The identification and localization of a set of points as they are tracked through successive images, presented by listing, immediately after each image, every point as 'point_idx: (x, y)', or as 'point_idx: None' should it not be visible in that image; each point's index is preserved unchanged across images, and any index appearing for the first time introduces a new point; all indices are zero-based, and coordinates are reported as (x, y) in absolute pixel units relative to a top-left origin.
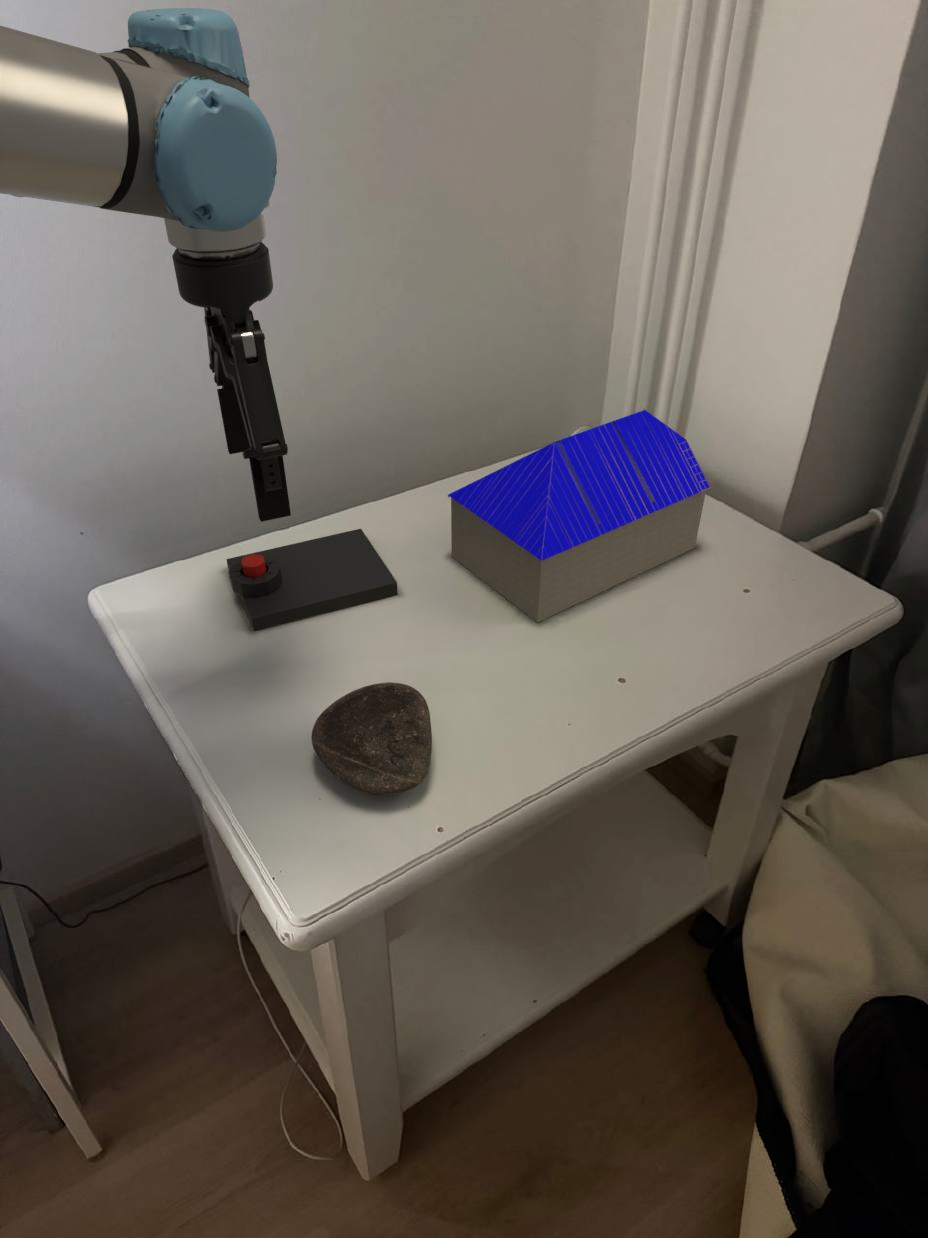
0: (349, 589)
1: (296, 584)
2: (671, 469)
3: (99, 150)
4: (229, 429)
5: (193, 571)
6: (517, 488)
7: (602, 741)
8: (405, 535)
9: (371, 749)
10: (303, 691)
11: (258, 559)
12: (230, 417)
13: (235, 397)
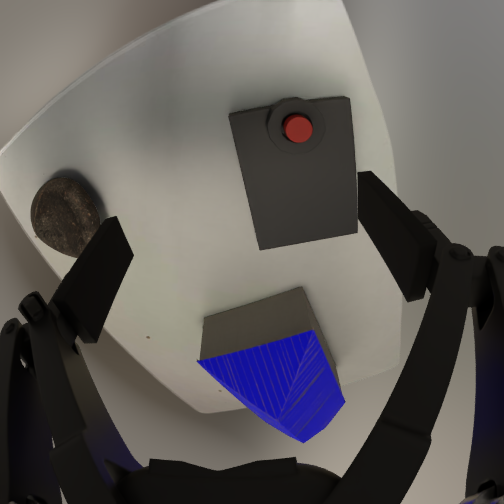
0: (258, 211)
1: (279, 163)
2: (270, 423)
3: None
4: (377, 201)
5: (354, 62)
6: (265, 381)
7: None
8: (346, 259)
9: (44, 220)
10: (136, 158)
11: (299, 136)
12: (387, 221)
13: (405, 264)
